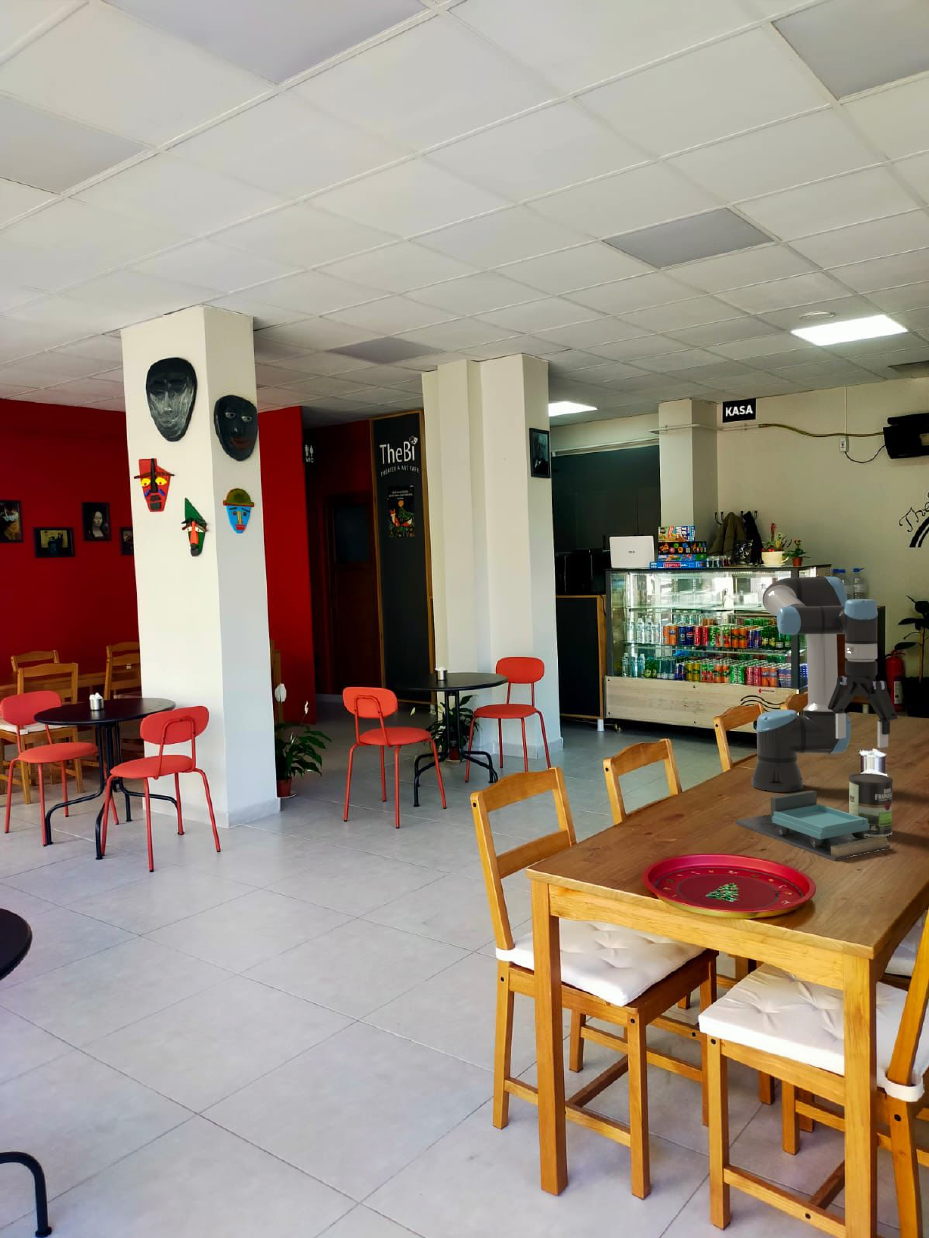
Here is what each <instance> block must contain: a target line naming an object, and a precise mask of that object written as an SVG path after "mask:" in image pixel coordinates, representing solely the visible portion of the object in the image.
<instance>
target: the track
mask: <svg viewBox="0 0 929 1238" xmlns="http://www.w3.org/2000/svg"><path fill="white" fill-rule="evenodd" d="M734 822H735V823H734V824H735V825H737V826H741V827H743V828H746V829H749V830H751V831H754V832H757V833H760V834H762V835H765V836H767V837H770V838H773V839H775V840H778V841H781V842H783V843H786V844H789V845H790V846H794V847H797V848H799V849H802V850H805V851H807V852H810V853H812V854H815V855H818V856H820V857H823V858H826V859H829V860H831V859H832V860H831V861H833V860H836V861H839V860H838V859H841V860H845V859H844V858H846V859H848V858H847V857H850V856H853V855H859V854H864V853H867V852H874V851H877V850H882V849H888V850H890V849H891V845H889V844H888V837H882V836H878V837H866V836H863V837H861V838H855V837H854V836H853V835H852V833H850V834H845V835H840V836H835V837H830V838H825V839H823V844H822V845H821V846H817V847H815V846H813V845H812V844H811V843H810V839H809V837H810V836H809V835H807V834H804V833H801V832H798V831H795V830H792V829H790V830H789V833H787V834H780V833H779V832H778V830H777V824H776V823H773V822H772V820H771V813H770V814H769V813H768V814H765V815H764V814H763V815H758V816H754V817H753V816H752V817H747V818H742V819H737V820H735V821H734ZM889 848H890V849H889ZM874 853H875V852H874ZM864 855H865V854H864ZM850 858H851V857H850Z"/></svg>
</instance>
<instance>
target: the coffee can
mask: <svg viewBox="0 0 929 1238" xmlns="http://www.w3.org/2000/svg"><path fill="white" fill-rule="evenodd" d="M848 780H849V781H848V782H849V783H848V784H849V787H848V788H849V790H848V793H849V796H848V797H849V798H848V800H849V802H848V803H849V804H848V805H849V806H848V807H849V808H848V809H849V812H848V813H850V814H853V815H856V816H859V817H863V818H866V819H868V823H869V830H865V834H864V836H863V837H866V836H868V837H867V838H873V837H878V836H882V837H885V838H888V837H890V836H889V835H891V836H892V835H893V783H894V779H893V778H892V777H890V776H888V775H883V774H879V773H867V772H863V773H861V772H860V773H854V774H853V773H852V774H850V775H848ZM887 836H888V837H887Z"/></svg>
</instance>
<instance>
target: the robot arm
mask: <svg viewBox="0 0 929 1238" xmlns="http://www.w3.org/2000/svg"><path fill="white" fill-rule="evenodd" d="M762 605H763V608H764V609H765V610H766V611H767V612H768V613H769V614H771V615H772V616H775V617H776V627H777V630H778V633H779V634H780V635H781V634H782V635H790V636H796V635H806V658H807V659H806V660H807V661H806V662H807V663H806V666H807V705H806V706H804V708H803V709H802V710H803V711H802V715H801V714H799V715H798V713H797V711H796V710H793V709H777V710H770V711H767V712H766V711H765V712H763V713H761V714H760V715H759V716H758V717H757V719H756V721H757V722H756V738H757V739H756V746H757V748H756V751H757V752H756V753H757V754H756V755H757V758H756V760H757V761H756V764H755V768H754V772H753V774H752V776H751V786H752V787H753V788H755V789H758V790H762V791H765V790H767V792H773V793H791V792H799V791H801V790H803V789H804V779H803V777H802V774H801V770H800V767H799V764H798V754H827V755H831V754H842V753H844V752H845V751H846V750H847V749H848V746H849V743H850V740H851V733H852V732H851V731H852V725H851V717H850V716H849V715H847V713H846V711H845V710H846V708H847V707H848V706H849V704H850V703H851V701H853V699H854V697H860V698H865V700H867V701H868V703H869V704H870V706H871V707H872V709H873V711H874V712H875V714H876V715H877V717H878V718H879V720H878V721H877V748H879V749H881V748H882V749H883V748H888V747H889V735H890V733H891V721H894V720H898V714H897V711H896V710H895V707H894V704H893V702H892V699H891V697H890V694H889V691H888V685H887V681H885V680H879V681H877V680H876V676H877V675H878V661H877V659H878V615H879V611H878V604H877V601H876V600H875V599H868V598H860V599H859V598H857V599H856V598H855V599H854V598H853V599H848V594H847V590H846V587H845V585H844V582H843V581H842V579H840V578H839V577H837V576H825V575H823V576H801V577H792V576H791V577H785V578H782V579H778V580H777V581H774V582H773V583H771V584H770V585H768V586H767V587H766V588H765V590H764V592H763V594H762ZM837 635H844V639H845V640H844V658H845V659H847V660H845V661H844V673H845V675H841V676H838V675H839V674H838V642H837V641H838V640H837V639H838V637H837ZM798 790H799V791H798Z"/></svg>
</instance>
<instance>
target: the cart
mask: <svg viewBox="0 0 929 1238" xmlns="http://www.w3.org/2000/svg"><path fill="white" fill-rule="evenodd" d="M817 795H818V794H817V791H816V790H806V791H805V790H804V791H800V792H799V791H798V792H794V793H788V794H783V795H777V796H776V795H775V796H771V797H770V814H771V820H772V822H773V823H776V824H777V830H778V832H779V833H780V834H787V833H789V830H790V829H792V830H795V831H798V832H801V833H804V834H807V835H809V836H810V837H809V839H810V843H811V844H812V845H813V846H815V847H817V846H821V845H822V844H823V839H825V838H830V837H835V836H840V835H845V834H850V833H852V835H853V836H854V837H855V838H861V837H865V836H864V834H865V830H869V823H868V819H866V818H863V817H859V816H856V815H853V814H850V813H849V812H846V811H843V810H839V809H836V808H833V807H831V806H826V805H825V804H824V805H823V804H820V803H817V802H818V799H817V797H818V796H817Z"/></svg>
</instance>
